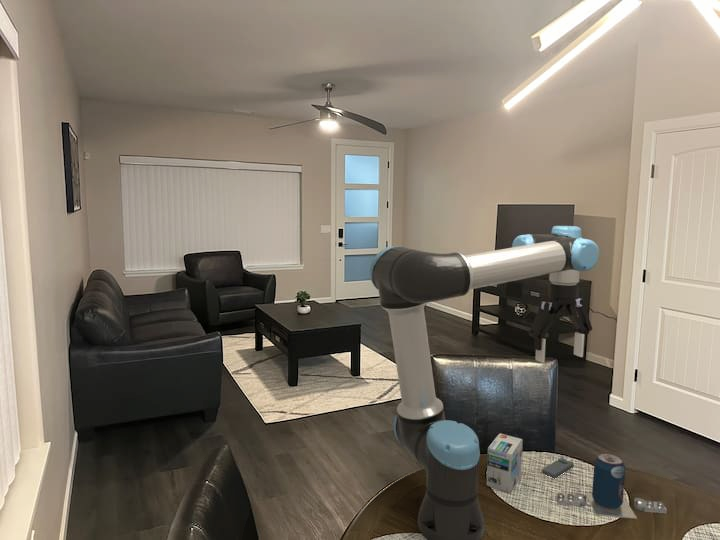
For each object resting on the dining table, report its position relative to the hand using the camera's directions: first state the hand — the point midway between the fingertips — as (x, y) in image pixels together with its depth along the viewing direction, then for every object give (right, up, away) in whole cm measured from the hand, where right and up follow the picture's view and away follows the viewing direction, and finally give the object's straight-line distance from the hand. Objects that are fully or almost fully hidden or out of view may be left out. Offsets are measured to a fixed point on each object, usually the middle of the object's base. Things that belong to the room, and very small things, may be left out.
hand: (559, 358), depth 141 cm
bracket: (0, -32, +2) cm, 33 cm away
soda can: (+6, -34, -14) cm, 37 cm away
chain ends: (+7, -34, -15) cm, 38 cm away
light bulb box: (-16, -33, -3) cm, 37 cm away
